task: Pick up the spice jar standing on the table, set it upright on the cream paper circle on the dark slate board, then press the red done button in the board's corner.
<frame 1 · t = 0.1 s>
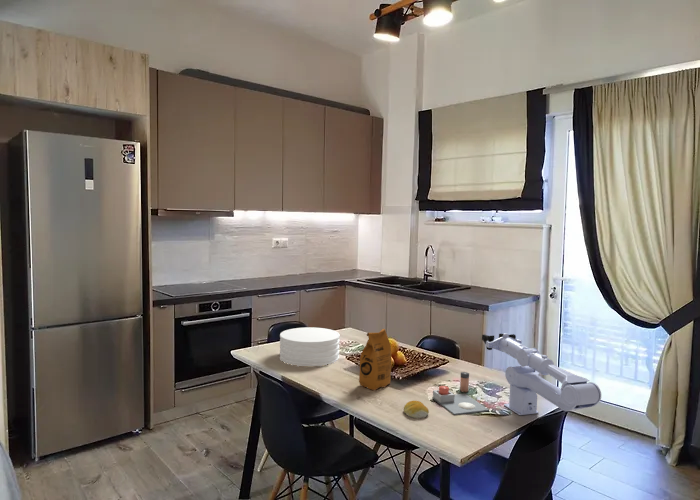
hand: (491, 336, 193), 22 cm above the table, tool horizontal, fingers open, 7 cm apart
bread roll: (416, 414, 170), on the table
coffee package: (374, 385, 198), on the table
board: (459, 404, 179), on the table
spice jar: (464, 390, 193), on the table
plate stack: (309, 358, 232), on the table
done button: (443, 391, 182), point 3 cm above the table, slide at 0.0 cm
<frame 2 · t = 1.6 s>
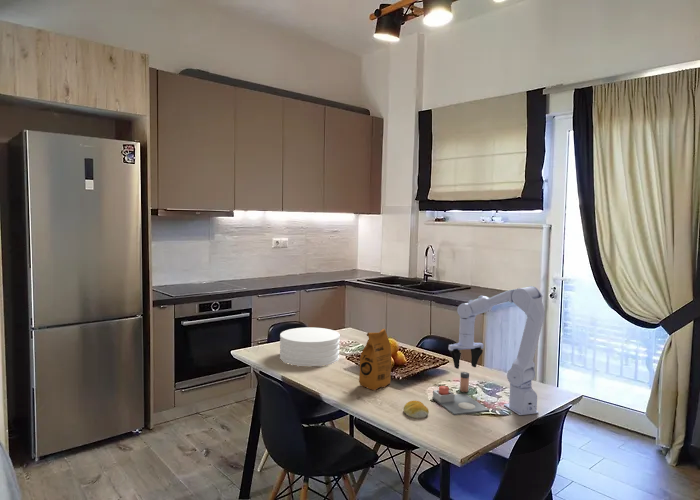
hand: (465, 367, 193), 9 cm above the table, tool pointing down, fingers open, 7 cm apart
nothing on the table moved.
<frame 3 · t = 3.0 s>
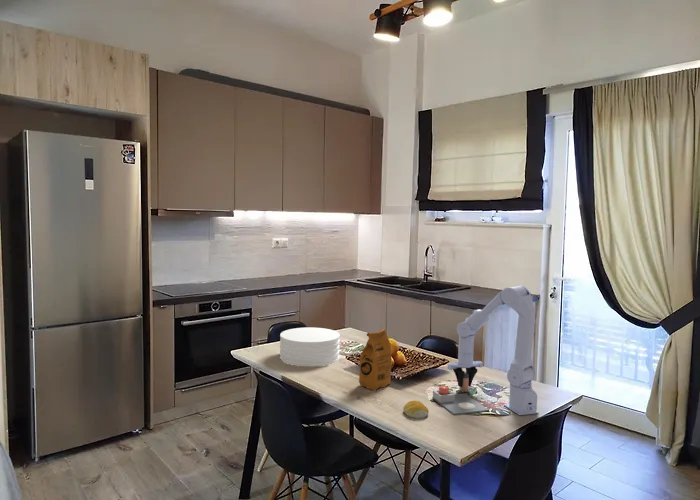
hand: (464, 386, 193), 2 cm above the table, tool pointing down, fingers closed on spice jar, 3 cm apart
spice jar: (464, 390, 193), on the table, touching gripper
everything else where it was.
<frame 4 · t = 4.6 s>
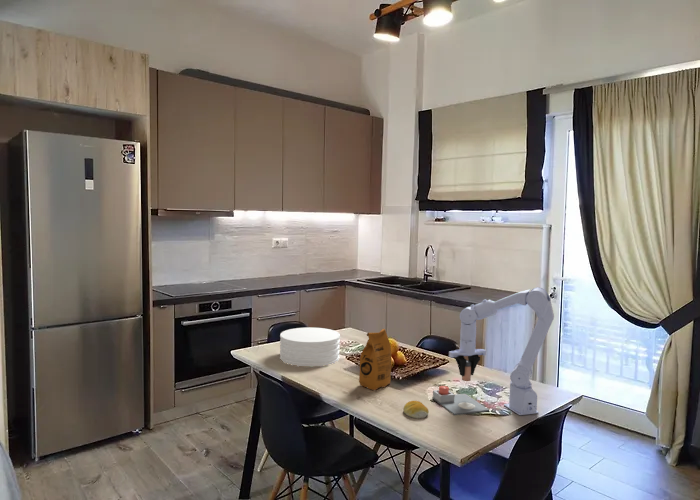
hand: (466, 374, 184), 9 cm above the table, tool pointing down, fingers closed on spice jar, 3 cm apart
spice jar: (466, 379, 185), point 7 cm above the table, touching gripper
everything else where it was.
when the fingers open (4 cm above the table, at t = 6.5 s): spice jar drops 1 cm, resting on board.
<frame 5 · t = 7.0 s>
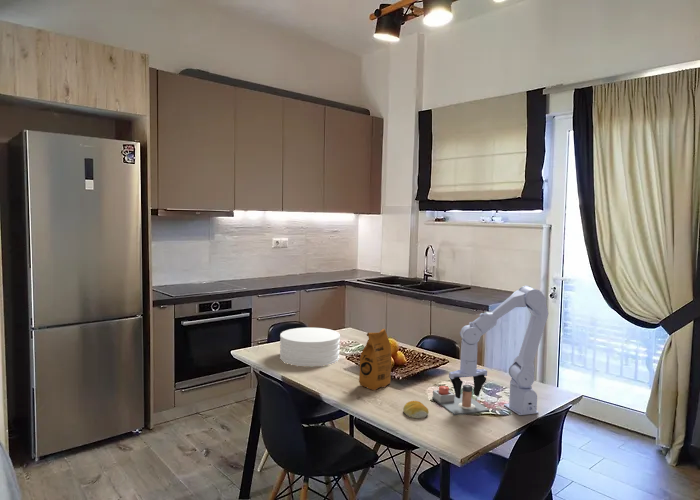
hand: (467, 396, 176), 4 cm above the table, tool pointing down, fingers open, 7 cm apart
spice jar: (466, 405, 177), point 1 cm above the table, touching board
everything else where it was.
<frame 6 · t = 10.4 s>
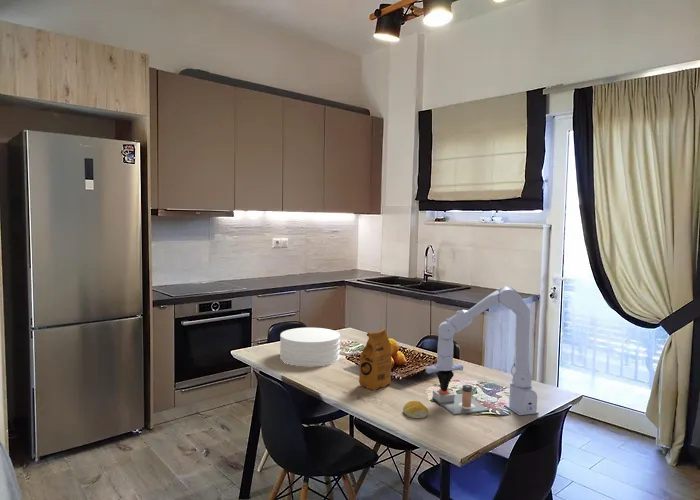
hand: (443, 390, 182), 4 cm above the table, tool pointing down, fingers closed, pressing on done button
done button: (443, 394, 182), point 2 cm above the table, slide at 1.0 cm, touching gripper
everything else where it was.
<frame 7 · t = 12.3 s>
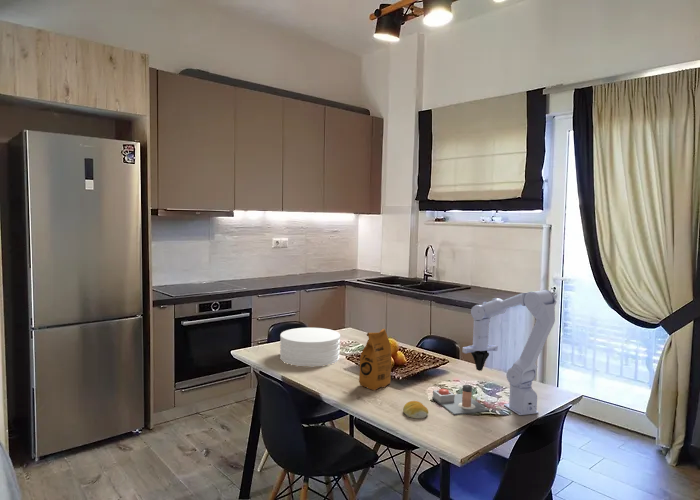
hand: (479, 369, 190), 9 cm above the table, tool pointing down, fingers closed
done button: (443, 394, 182), point 2 cm above the table, slide at 1.1 cm
everything else where it was.
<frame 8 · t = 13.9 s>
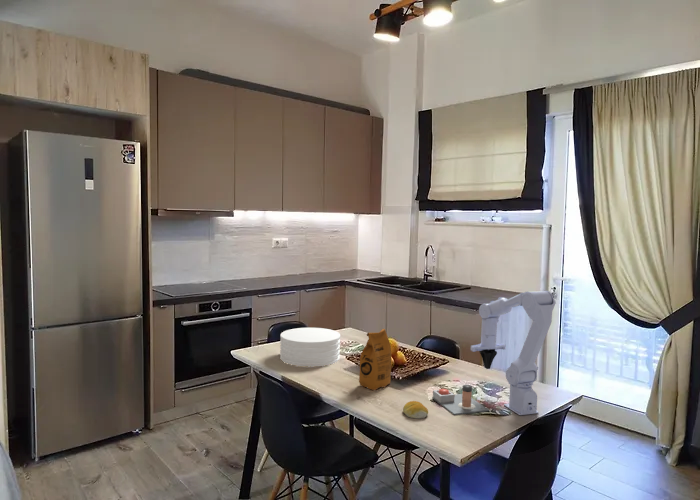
hand: (487, 368, 192), 9 cm above the table, tool pointing down, fingers closed
nothing on the table moved.
at the end: spice jar 0.2 cm from the target spot, point 0.6 cm above the table; spice jar tilted 0°; done button slide at 1.1 cm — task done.
